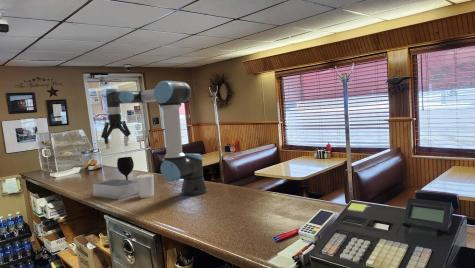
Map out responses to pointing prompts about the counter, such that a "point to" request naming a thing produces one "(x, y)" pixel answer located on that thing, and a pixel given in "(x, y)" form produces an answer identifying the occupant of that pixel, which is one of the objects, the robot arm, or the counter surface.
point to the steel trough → (115, 189)
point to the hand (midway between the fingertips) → (117, 147)
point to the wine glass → (125, 165)
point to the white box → (145, 185)
